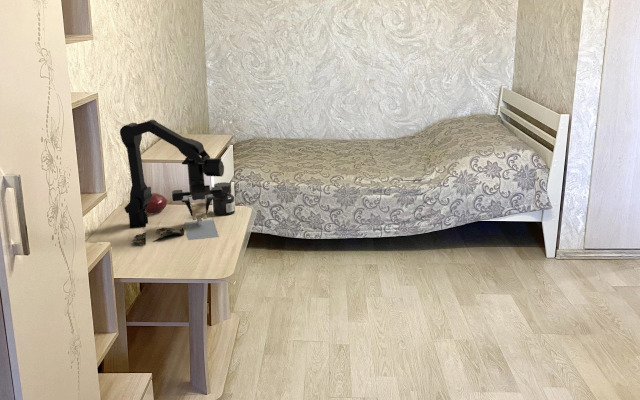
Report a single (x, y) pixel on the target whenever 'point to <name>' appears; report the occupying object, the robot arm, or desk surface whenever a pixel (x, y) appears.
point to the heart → (156, 204)
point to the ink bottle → (224, 200)
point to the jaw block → (198, 209)
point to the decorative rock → (163, 232)
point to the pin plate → (201, 229)
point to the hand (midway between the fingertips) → (199, 215)
